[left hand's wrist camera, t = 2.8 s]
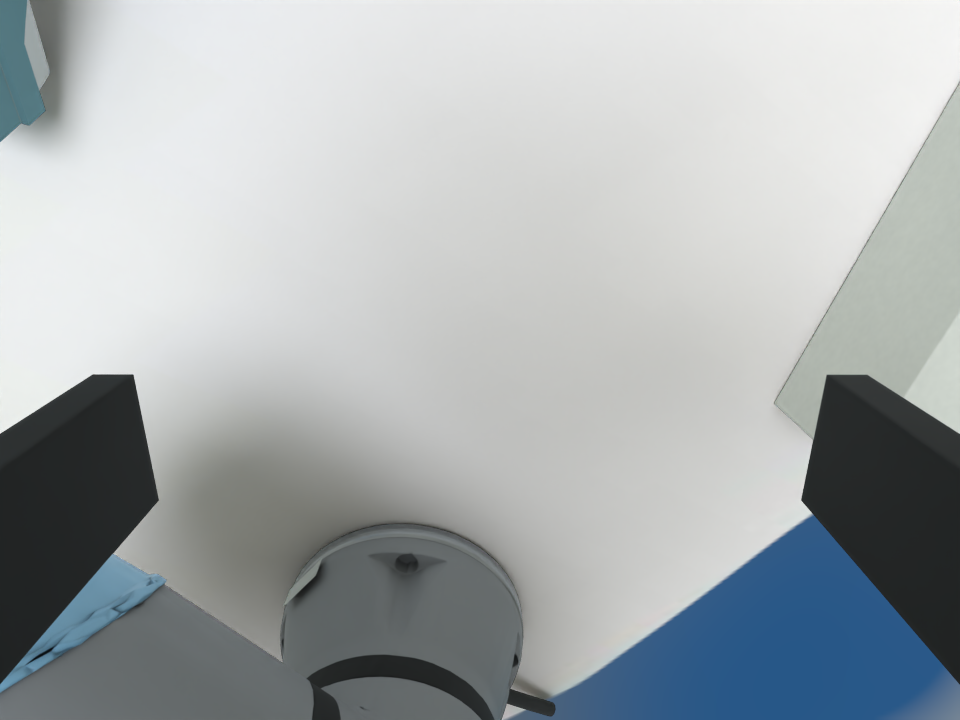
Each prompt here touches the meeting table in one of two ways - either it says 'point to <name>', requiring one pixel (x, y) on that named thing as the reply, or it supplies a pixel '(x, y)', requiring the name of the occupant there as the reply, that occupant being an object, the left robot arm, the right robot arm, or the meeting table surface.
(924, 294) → the bar
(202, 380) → the meeting table surface
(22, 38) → the toy gun
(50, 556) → the left robot arm
